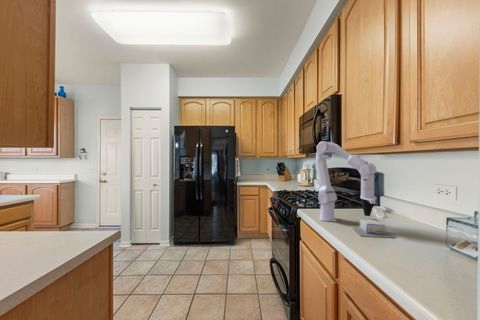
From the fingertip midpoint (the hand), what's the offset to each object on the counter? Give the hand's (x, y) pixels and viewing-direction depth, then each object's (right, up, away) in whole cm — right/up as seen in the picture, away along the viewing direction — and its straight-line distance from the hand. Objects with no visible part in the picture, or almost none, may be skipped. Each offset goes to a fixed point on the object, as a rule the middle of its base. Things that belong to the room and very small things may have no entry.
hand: (367, 215), depth 115 cm
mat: (-1, -7, -7) cm, 10 cm away
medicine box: (0, -4, -1) cm, 4 cm away
